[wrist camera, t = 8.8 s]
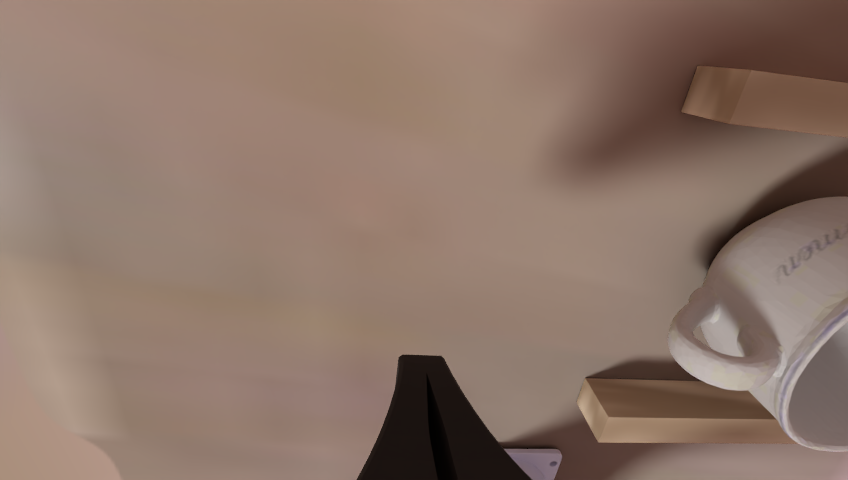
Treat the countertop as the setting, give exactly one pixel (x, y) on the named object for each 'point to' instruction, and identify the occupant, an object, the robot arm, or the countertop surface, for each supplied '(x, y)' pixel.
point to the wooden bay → (696, 400)
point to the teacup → (778, 320)
